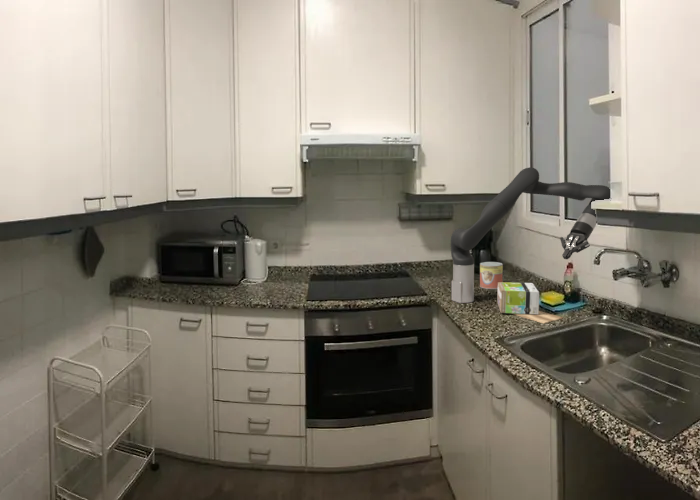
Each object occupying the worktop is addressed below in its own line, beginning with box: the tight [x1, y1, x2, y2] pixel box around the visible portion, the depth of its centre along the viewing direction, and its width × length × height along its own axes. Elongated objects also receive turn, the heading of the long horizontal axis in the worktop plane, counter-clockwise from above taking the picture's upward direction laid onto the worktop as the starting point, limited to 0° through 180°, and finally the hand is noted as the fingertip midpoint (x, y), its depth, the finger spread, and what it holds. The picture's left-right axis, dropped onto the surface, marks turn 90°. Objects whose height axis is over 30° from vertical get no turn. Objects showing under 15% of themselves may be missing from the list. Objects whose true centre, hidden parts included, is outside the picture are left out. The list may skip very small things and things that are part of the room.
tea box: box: [496, 281, 540, 314], centre depth 180 cm, size 15×10×15 cm
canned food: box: [479, 261, 504, 290], centre depth 222 cm, size 11×11×12 cm
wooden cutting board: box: [510, 310, 564, 324], centre depth 174 cm, size 11×20×1 cm, turn 28°
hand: (564, 258), depth 182 cm, fingers closed
